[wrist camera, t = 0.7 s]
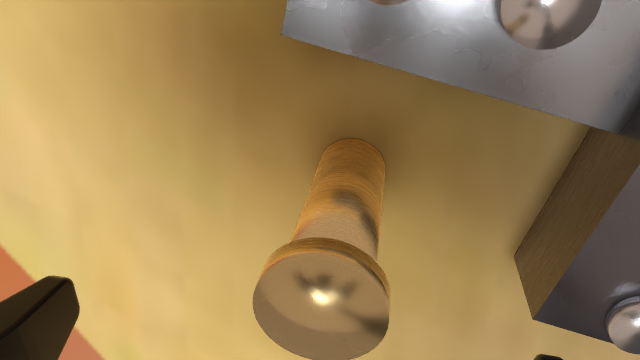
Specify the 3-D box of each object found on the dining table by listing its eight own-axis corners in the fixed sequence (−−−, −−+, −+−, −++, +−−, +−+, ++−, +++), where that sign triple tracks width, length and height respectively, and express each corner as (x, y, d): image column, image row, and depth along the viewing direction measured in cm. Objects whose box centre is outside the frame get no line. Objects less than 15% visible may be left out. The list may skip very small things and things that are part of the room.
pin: (381, 216, 23) (365, 376, 15) (300, 191, 23) (242, 338, 15) (409, 143, 20) (408, 284, 13) (320, 117, 21) (265, 241, 13)
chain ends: (669, 302, 22) (724, 387, 18) (260, 180, 23) (228, 237, 19) (970, -38, 15) (1179, -18, 11) (341, -214, 15) (316, -259, 11)
